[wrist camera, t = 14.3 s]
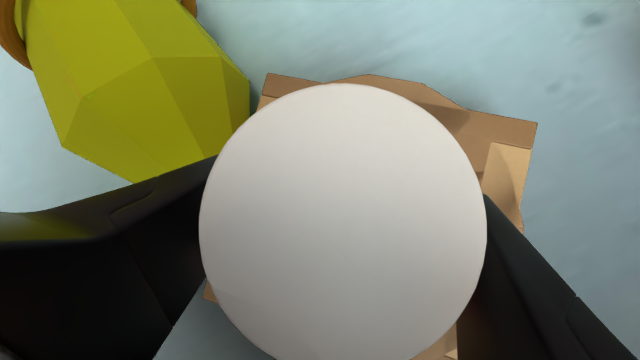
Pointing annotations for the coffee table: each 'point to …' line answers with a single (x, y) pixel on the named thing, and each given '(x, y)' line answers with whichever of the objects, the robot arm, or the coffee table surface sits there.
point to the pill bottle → (342, 226)
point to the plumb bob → (129, 80)
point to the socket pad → (473, 137)
